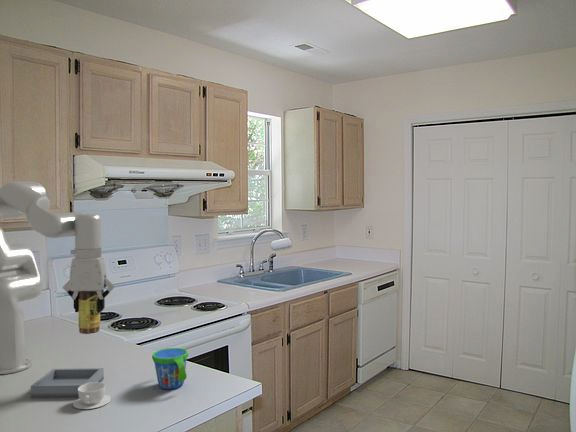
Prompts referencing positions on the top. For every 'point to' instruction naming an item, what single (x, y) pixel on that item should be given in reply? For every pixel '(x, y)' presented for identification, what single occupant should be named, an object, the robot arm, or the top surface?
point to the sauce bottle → (88, 312)
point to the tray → (65, 382)
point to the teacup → (91, 396)
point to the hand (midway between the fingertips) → (89, 310)
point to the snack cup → (170, 367)
